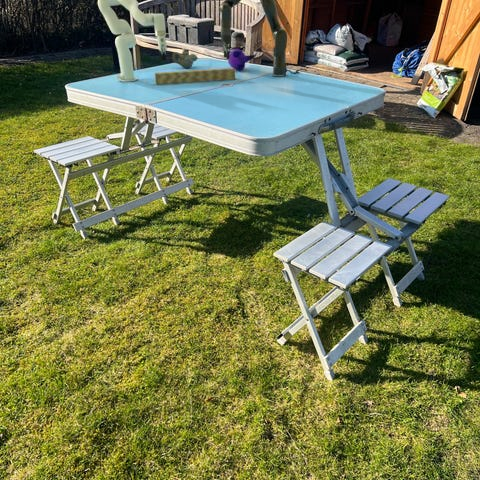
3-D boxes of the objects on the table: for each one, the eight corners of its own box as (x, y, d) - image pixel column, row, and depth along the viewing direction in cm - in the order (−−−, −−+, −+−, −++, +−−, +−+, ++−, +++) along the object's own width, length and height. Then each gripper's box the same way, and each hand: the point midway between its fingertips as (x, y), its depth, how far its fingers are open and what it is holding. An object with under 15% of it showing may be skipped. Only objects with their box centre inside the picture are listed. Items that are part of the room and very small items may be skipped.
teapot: (196, 65, 393) (195, 47, 386) (199, 67, 384) (198, 49, 376) (172, 67, 388) (170, 48, 380) (175, 69, 378) (173, 50, 370)
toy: (240, 72, 359) (228, 71, 382) (259, 65, 362) (246, 64, 386) (234, 52, 351) (222, 52, 375) (253, 45, 354) (241, 45, 378)
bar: (156, 84, 327) (155, 74, 323) (155, 83, 331) (154, 72, 327) (235, 79, 339) (235, 68, 335) (233, 78, 343) (233, 67, 339)
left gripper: (167, 34, 308) (170, 60, 317) (164, 32, 323) (167, 57, 332) (156, 34, 307) (159, 61, 315) (153, 32, 321) (156, 58, 330)
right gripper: (233, 35, 319) (233, 59, 327) (228, 33, 331) (229, 56, 339) (223, 35, 317) (223, 59, 325) (218, 33, 329) (219, 57, 337)
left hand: (163, 59), depth 324 cm, fingers open, 9 cm apart
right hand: (226, 58), depth 332 cm, fingers open, 8 cm apart
